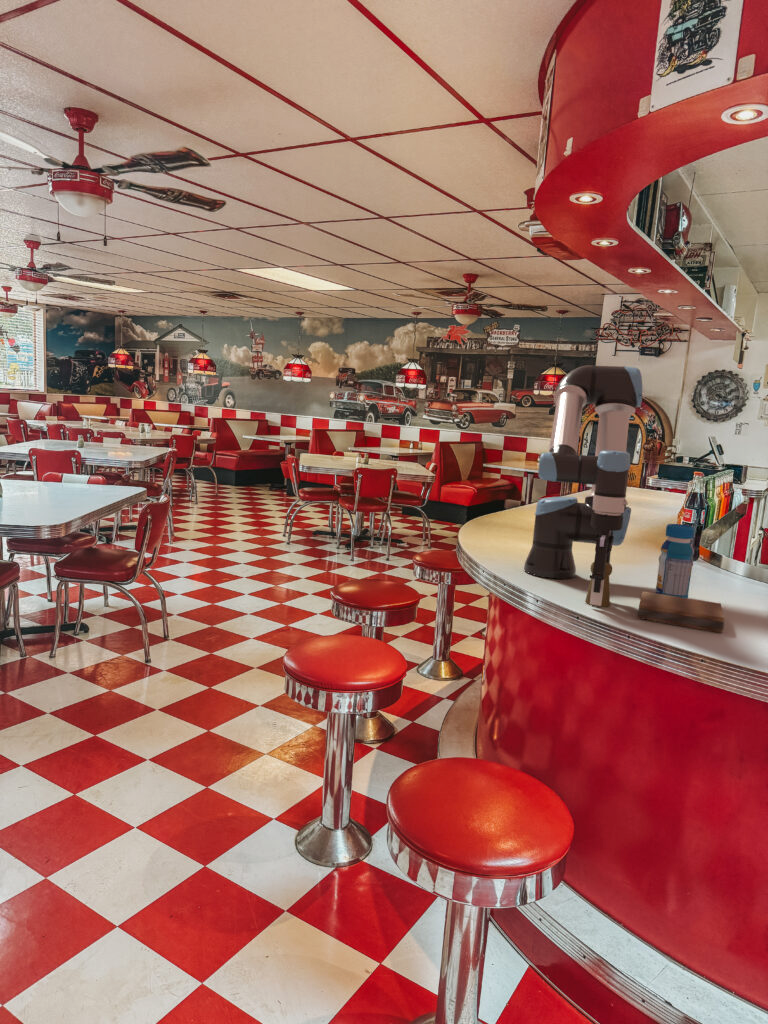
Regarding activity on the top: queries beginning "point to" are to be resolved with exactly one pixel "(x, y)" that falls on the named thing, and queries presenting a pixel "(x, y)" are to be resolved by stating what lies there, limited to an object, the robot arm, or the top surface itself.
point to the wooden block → (681, 611)
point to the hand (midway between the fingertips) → (597, 599)
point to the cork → (605, 588)
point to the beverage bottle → (676, 561)
